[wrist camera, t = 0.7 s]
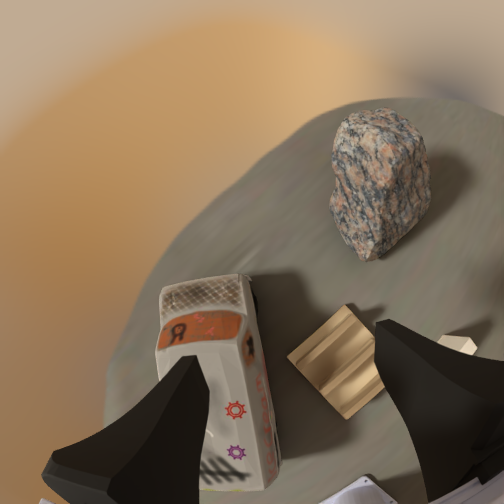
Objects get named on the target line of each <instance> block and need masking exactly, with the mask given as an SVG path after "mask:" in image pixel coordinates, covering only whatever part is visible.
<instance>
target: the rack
mask: <svg viewBox="0 0 504 504" xmlns="http://www.w3.org/2000/svg"><path fill="white" fill-rule="evenodd" d="M374 350H375V337H374V336H373V335H372V334H371V333H370V332H369V331H368V329H367V328H366V327H365V326H364V325H363V324H362V323H361V322H360V321H359V319H358V318H357V317H356V316H355V315H354V314H353V313H352V312H351V311H350V310H349V308H348V307H347V306H346V305H343V306H342V307H341V308H340V309H339V310H338V311H337V312H336V313H335V314H334V315H333V316H331V317H330V318H329V319H328V320H327V321H326V322H325V323H324V324H323V325H322V326H321V327H320V328H318V329H317V330H316V331H315V332H314V333H313V334H312V335H311V336H310V337H308V338H307V339H306V340H305V341H304V342H303V343H302V344H300V345H299V346H298V347H297V348H296V349H295V350H293V351H292V352H291V353H290V354H289V355H288V356H287V358H288V359H289V360H290V361H291V362H292V363H293V364H294V365H295V366H296V368H297V369H298V370H299V371H300V372H301V373H302V374H303V375H304V376H305V377H306V378H307V379H308V381H309V382H310V383H311V384H312V385H313V386H314V387H315V388H316V389H317V390H318V391H319V392H320V393H321V394H322V395H323V397H324V398H325V399H326V400H327V401H328V402H329V403H330V404H331V405H332V406H333V407H334V408H335V409H336V410H337V411H338V412H339V413H340V414H341V415H342V416H343V417H344V418H345V419H348V418H350V417H351V416H352V415H353V414H354V413H356V412H357V411H358V410H359V409H360V408H362V407H363V406H364V405H365V404H366V403H367V402H369V401H370V400H371V399H372V398H373V397H374V396H375V395H376V394H377V393H379V392H380V391H381V390H382V389H383V388H384V387H385V386H384V384H383V382H382V381H381V378H380V376H379V373H378V371H377V368H376V366H375V363H374Z"/></svg>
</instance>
